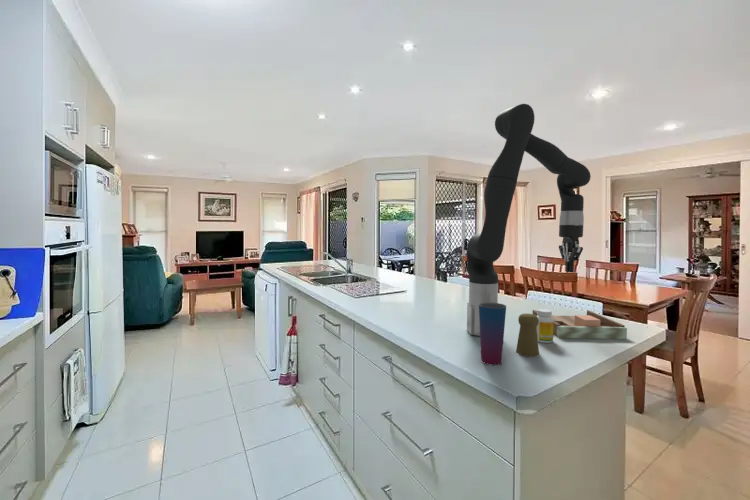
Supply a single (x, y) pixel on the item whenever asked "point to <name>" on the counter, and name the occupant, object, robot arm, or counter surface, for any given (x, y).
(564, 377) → the counter surface
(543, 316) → the supplement bottle
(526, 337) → the cork
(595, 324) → the block
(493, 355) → the cup
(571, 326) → the square tray
